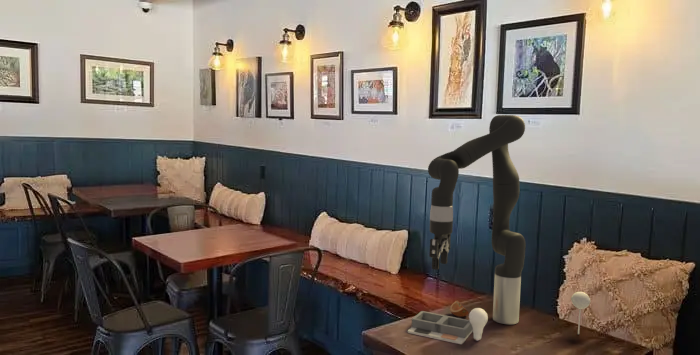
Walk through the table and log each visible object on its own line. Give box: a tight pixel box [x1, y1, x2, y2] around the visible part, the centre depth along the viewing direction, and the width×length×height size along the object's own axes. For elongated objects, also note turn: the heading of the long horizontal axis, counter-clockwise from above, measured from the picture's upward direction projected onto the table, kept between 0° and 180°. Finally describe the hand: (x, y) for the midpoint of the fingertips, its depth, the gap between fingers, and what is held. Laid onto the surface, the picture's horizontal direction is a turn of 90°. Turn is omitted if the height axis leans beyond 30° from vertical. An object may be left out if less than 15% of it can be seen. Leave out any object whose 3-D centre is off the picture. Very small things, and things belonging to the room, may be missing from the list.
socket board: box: [407, 310, 473, 345], centre depth 188 cm, size 13×19×4 cm
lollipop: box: [570, 291, 591, 335], centre depth 188 cm, size 6×6×15 cm
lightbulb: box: [468, 307, 489, 342], centre depth 181 cm, size 6×6×11 cm
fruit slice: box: [449, 299, 470, 318], centre depth 203 cm, size 8×7×5 cm
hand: (439, 266), depth 182 cm, fingers open, 8 cm apart
